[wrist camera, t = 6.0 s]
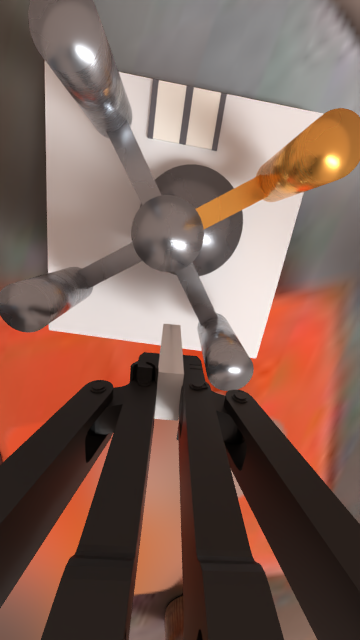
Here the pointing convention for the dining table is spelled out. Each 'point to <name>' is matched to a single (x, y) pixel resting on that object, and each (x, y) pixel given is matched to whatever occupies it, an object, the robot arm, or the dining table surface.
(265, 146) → the stand plate
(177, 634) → the lamp
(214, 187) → the silver metal piece
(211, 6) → the dining table surface
